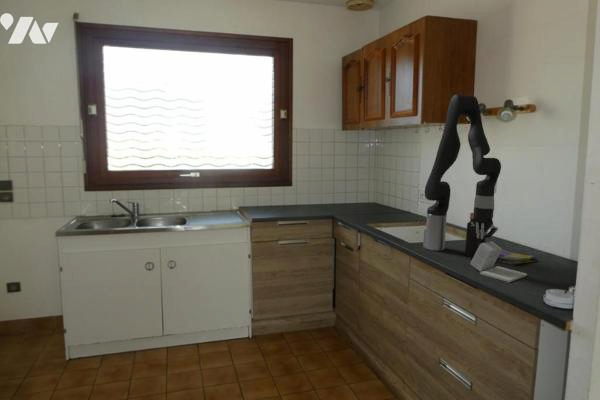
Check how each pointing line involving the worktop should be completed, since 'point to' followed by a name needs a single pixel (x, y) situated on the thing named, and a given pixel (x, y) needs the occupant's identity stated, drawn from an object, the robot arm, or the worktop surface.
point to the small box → (486, 256)
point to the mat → (503, 274)
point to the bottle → (470, 241)
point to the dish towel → (514, 258)
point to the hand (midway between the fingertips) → (480, 247)
